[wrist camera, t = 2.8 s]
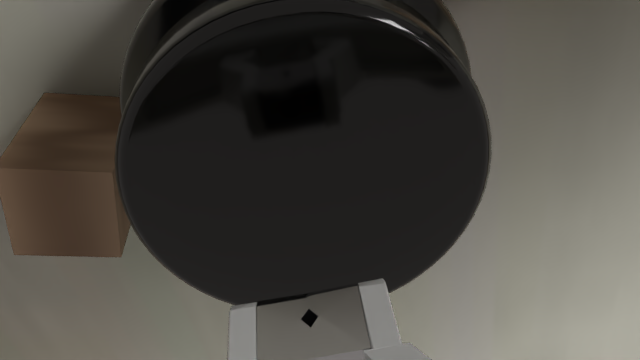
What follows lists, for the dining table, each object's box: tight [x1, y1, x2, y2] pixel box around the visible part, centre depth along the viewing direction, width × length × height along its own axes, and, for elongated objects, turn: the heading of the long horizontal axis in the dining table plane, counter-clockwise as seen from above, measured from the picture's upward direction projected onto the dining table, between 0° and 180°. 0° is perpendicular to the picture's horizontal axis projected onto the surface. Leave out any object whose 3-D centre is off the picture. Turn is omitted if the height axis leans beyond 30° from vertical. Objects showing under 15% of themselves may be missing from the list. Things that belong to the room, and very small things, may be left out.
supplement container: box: [114, 0, 492, 305], centre depth 20 cm, size 10×10×12 cm
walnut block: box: [0, 93, 131, 257], centre depth 24 cm, size 4×4×6 cm
